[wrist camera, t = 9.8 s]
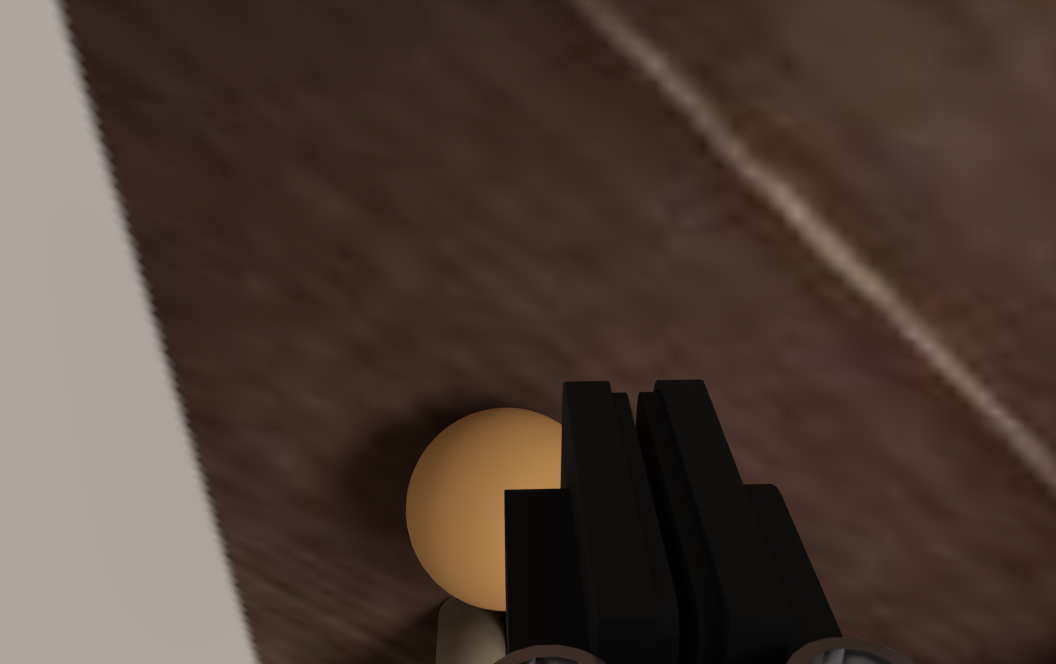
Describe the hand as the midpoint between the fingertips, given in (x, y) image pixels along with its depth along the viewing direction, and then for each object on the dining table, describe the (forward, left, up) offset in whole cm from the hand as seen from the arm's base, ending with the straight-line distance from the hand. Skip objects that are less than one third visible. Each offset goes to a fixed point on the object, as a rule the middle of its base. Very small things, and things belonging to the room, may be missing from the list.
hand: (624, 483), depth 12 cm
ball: (+11, -1, -14) cm, 18 cm away
